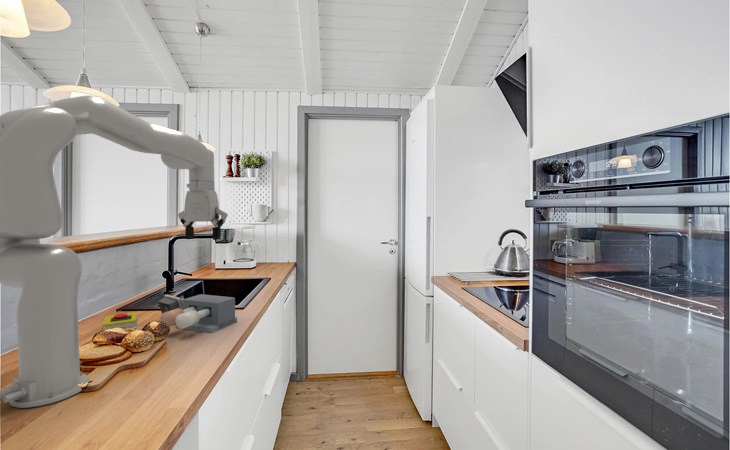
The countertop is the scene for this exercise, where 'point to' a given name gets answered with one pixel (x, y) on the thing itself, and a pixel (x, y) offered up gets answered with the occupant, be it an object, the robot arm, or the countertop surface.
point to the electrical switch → (170, 303)
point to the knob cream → (191, 317)
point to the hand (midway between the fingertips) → (203, 239)
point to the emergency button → (121, 320)
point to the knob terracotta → (174, 315)
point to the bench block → (212, 312)
